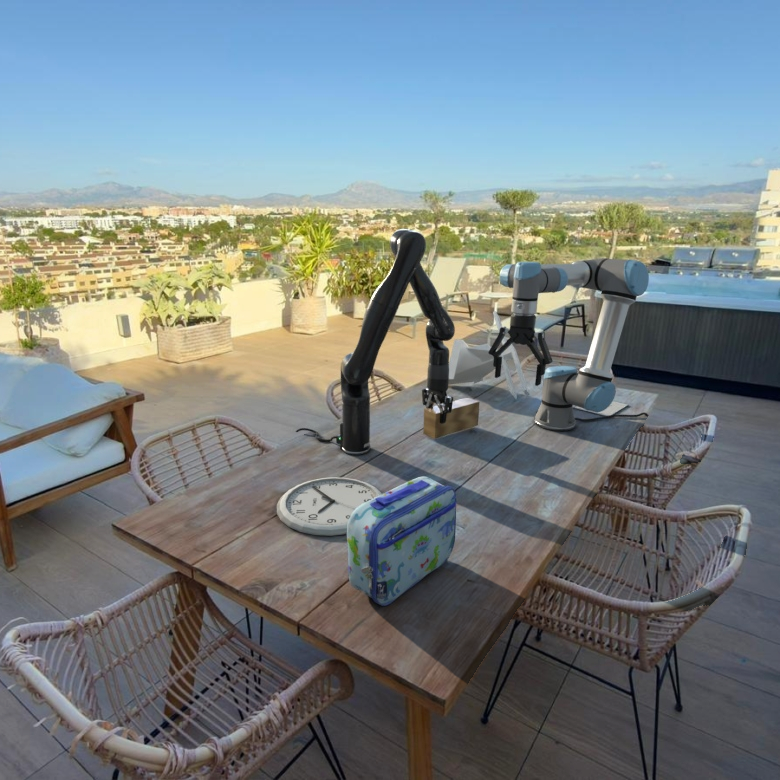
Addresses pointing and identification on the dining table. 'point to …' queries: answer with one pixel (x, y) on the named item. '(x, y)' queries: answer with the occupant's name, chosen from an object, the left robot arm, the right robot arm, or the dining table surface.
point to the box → (451, 418)
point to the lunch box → (400, 538)
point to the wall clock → (324, 504)
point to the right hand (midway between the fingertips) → (517, 380)
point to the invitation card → (608, 409)
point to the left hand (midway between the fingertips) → (436, 420)
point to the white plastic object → (482, 362)
